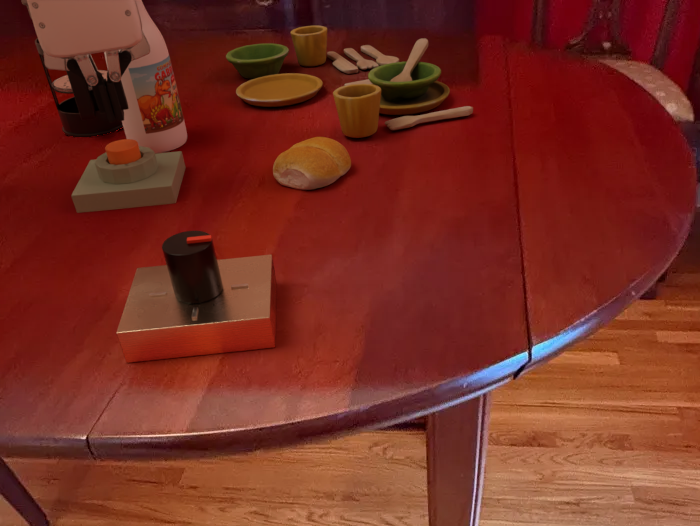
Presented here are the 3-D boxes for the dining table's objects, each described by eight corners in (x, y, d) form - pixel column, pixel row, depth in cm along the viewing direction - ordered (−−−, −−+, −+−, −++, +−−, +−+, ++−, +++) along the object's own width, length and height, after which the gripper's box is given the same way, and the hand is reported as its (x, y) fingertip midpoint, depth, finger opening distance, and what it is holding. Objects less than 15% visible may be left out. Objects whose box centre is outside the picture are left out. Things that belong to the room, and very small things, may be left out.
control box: (77, 213, 80) (65, 179, 78) (95, 176, 88) (85, 145, 86) (176, 204, 81) (167, 170, 78) (185, 168, 89) (178, 136, 86)
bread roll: (361, 164, 86) (359, 131, 83) (323, 196, 80) (319, 161, 77) (303, 155, 89) (299, 123, 87) (262, 184, 83) (256, 151, 81)
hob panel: (126, 363, 58) (115, 331, 56) (145, 296, 66) (136, 266, 64) (275, 347, 58) (269, 315, 56) (276, 282, 66) (271, 252, 64)
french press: (65, 118, 106) (6, -62, 92) (131, 109, 107) (82, -71, 93) (59, 147, 97) (-7, -48, 83) (130, 136, 98) (77, -58, 84)
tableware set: (483, 118, 95) (485, 68, 91) (279, 160, 88) (272, 108, 84) (373, 45, 126) (370, 5, 122) (215, 72, 119) (208, 31, 115)
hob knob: (172, 306, 59) (157, 254, 56) (177, 280, 62) (164, 229, 59) (221, 300, 59) (209, 248, 56) (224, 275, 62) (213, 224, 59)
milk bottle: (128, 159, 92) (79, -16, 80) (130, 137, 98) (85, -28, 85) (189, 150, 93) (150, -24, 80) (188, 130, 99) (151, -35, 86)
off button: (106, 167, 81) (101, 152, 80) (112, 155, 84) (108, 140, 82) (138, 164, 81) (134, 149, 80) (143, 152, 84) (139, 137, 83)
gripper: (138, -91, 72) (182, 96, 83) (-19, -72, 70) (49, 118, 81) (140, -83, 66) (187, 117, 78) (-31, -61, 64) (43, 141, 75)
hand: (116, 117), depth 79 cm, fingers closed
